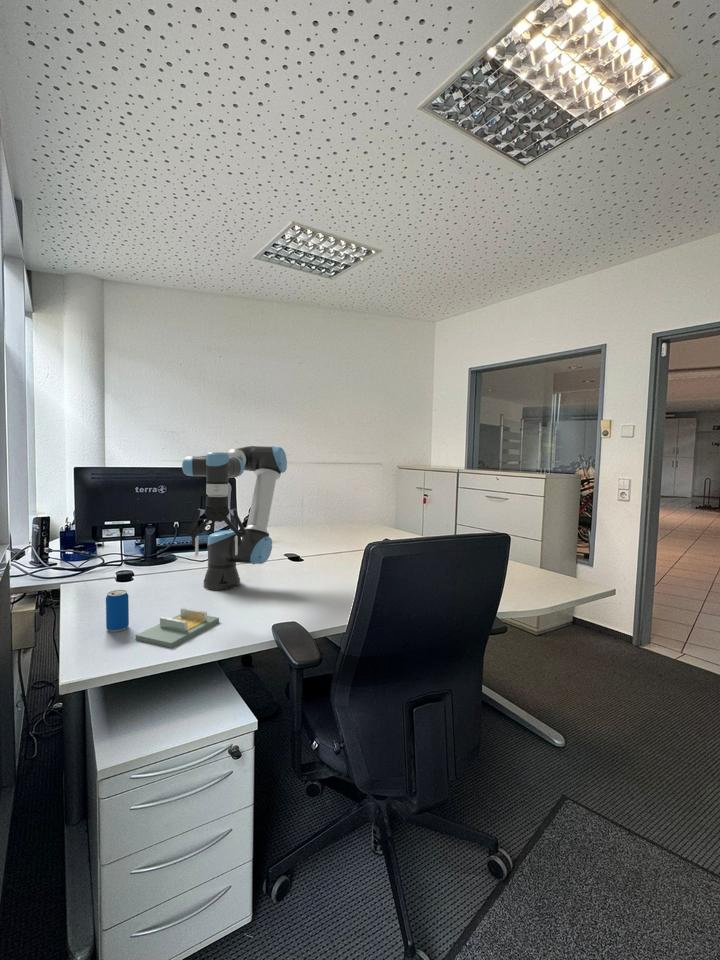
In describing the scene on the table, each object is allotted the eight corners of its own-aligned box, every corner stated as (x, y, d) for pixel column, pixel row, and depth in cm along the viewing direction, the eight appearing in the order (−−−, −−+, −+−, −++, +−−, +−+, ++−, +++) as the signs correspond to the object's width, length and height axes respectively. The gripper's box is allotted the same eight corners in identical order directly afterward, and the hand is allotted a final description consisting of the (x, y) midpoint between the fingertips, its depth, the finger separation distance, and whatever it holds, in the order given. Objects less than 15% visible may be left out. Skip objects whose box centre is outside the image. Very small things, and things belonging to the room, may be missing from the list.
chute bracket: (159, 626, 147) (159, 617, 147) (183, 616, 157) (183, 607, 157) (184, 632, 144) (184, 622, 144) (206, 620, 154) (206, 612, 153)
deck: (135, 639, 141) (135, 635, 141) (186, 615, 161) (186, 611, 161) (171, 647, 136) (171, 643, 136) (218, 622, 157) (218, 617, 156)
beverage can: (111, 624, 152) (111, 589, 151) (132, 624, 152) (131, 589, 152) (102, 632, 145) (102, 596, 145) (123, 632, 146) (123, 595, 145)
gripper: (178, 496, 156) (177, 557, 157) (253, 496, 161) (252, 556, 162) (182, 494, 163) (181, 552, 165) (253, 494, 168) (252, 551, 170)
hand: (216, 554), depth 163 cm, fingers open, 13 cm apart
